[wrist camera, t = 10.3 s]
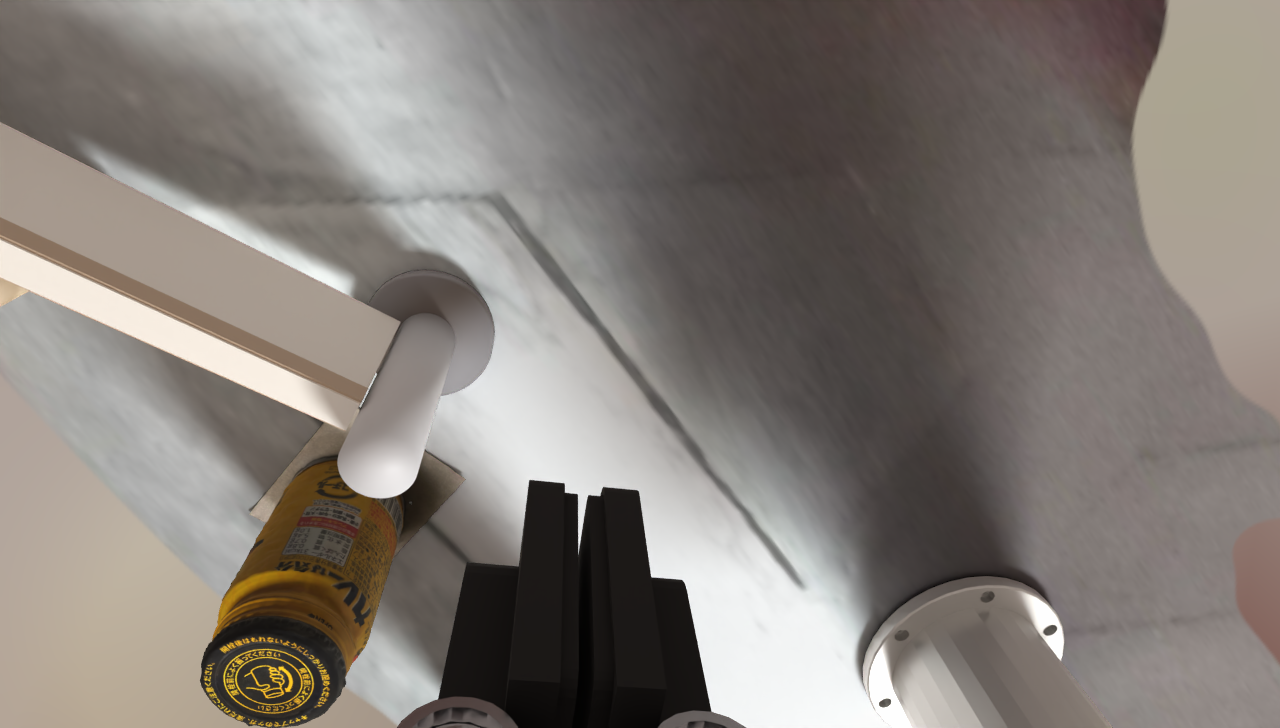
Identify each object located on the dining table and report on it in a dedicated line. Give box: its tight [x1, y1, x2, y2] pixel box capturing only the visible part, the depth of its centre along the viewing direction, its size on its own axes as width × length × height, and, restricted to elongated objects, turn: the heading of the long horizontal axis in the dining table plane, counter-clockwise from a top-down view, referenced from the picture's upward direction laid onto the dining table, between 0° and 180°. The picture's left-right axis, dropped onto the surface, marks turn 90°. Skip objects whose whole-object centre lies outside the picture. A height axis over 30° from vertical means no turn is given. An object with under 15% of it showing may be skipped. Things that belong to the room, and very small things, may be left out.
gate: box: [0, 122, 456, 498], centre depth 28 cm, size 23×3×11 cm, turn 58°
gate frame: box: [0, 270, 495, 396], centre depth 26 cm, size 18×28×12 cm, turn 147°
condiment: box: [200, 409, 465, 728], centre depth 35 cm, size 7×8×12 cm
